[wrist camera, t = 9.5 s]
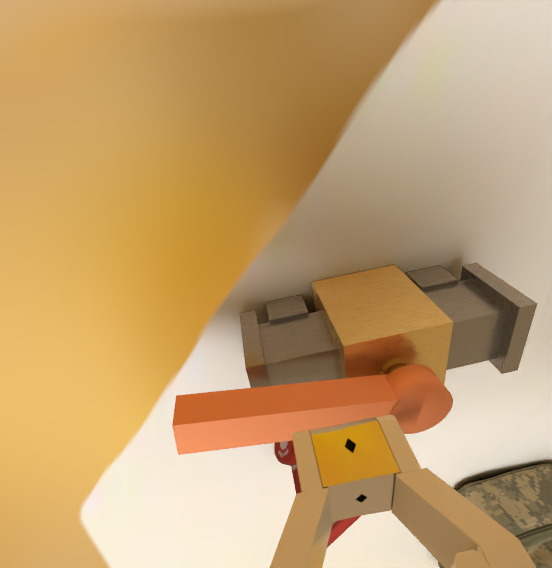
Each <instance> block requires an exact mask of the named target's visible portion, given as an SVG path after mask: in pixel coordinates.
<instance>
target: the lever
mask: <svg viewBox="0 0 552 568" xmlns="http://www.w3.org/2000/svg"><path fill="white" fill-rule="evenodd" d="M452 403H453V399H452V396H451V394H450V392H449V391H448V390H447V388H446V387H445V386H444V385H443V383H442V382H441V381H440V379H439V378H438V377H437V375H436V374H435V373H434V372H433V370H432V369H430V368H429V367H427V366H424V365H419V364H413V365H407V366H403V367H400V368H398V369H396V370H394V371H392V372H391V373H389V374H383V375H374V376H364V377H354V378H344V379H335V380H325V381H315V382H305V383H295V384H286V385H276V386H266V387H256V388H246V389H237V390H227V391H217V392H207V393H198V394H188V395H178V396H176V402H175V410H174V418H173V431H174V436H175V441H176V446H177V451H178V455H180V454H188V453H196V452H204V451H212V450H220V449H228V448H236V447H243V446H251V445H259V444H267V443H275V442H283V441H291V440H293V439H292V433H296V432H301V431H306V430H313V429H318V428H324V427H329V426H335V425H340V424H343V423H348V422H353V421H358V420H363V419H367V418H372V417H380V416H384V415H389V414H392V415H393V416H395V417H396V419H397V421H398V423H399V425H400V427H401V429H402V431H403V433H404V434H412V433H418V432H422V431H424V430H427V429H429V428H431V427H433V426H435V425H436V424H438V423H439V422H440V421H442V420H443V419H444V418H445V417H446V415H447V414H448V413H449V411H450V409H451V407H452Z"/></svg>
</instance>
